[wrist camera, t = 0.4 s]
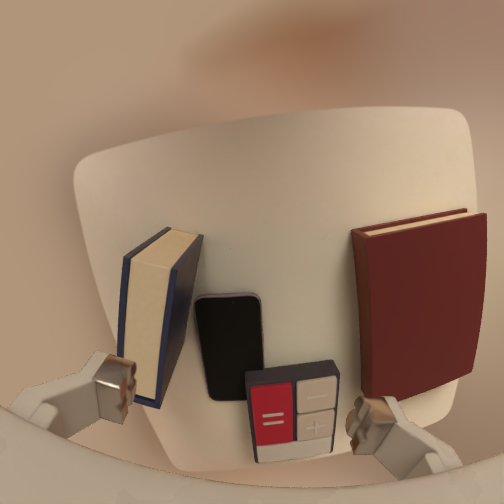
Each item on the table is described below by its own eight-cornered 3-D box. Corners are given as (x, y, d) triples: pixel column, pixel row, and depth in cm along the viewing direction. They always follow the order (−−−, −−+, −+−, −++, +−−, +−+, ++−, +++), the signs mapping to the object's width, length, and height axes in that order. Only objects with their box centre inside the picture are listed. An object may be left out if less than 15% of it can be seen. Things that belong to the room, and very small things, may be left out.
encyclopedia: (350, 229, 32) (365, 238, 27) (464, 208, 31) (486, 213, 27) (361, 389, 37) (370, 410, 33) (456, 356, 36) (471, 371, 32)
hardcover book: (151, 334, 35) (117, 396, 23) (167, 226, 32) (123, 256, 20) (184, 342, 35) (159, 409, 23) (203, 235, 32) (177, 269, 20)
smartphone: (209, 401, 36) (191, 297, 32) (210, 395, 37) (193, 293, 33) (266, 399, 36) (261, 294, 32) (265, 394, 37) (260, 290, 33)
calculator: (342, 374, 32) (334, 456, 35) (332, 356, 36) (327, 437, 39) (245, 387, 32) (255, 467, 35) (244, 367, 36) (253, 447, 39)
